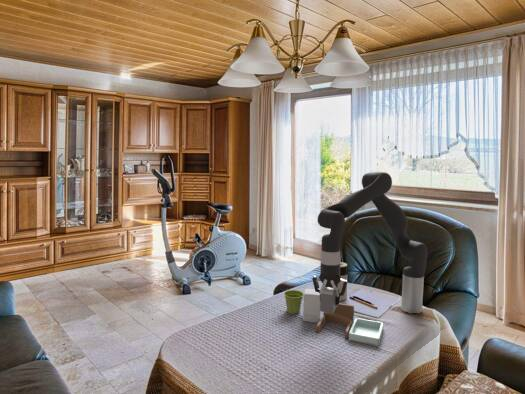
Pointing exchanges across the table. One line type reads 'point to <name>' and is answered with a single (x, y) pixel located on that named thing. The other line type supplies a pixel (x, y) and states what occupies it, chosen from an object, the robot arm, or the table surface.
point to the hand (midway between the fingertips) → (329, 303)
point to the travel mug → (343, 276)
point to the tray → (366, 331)
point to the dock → (339, 317)
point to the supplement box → (311, 306)
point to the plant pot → (293, 300)
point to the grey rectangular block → (328, 300)
